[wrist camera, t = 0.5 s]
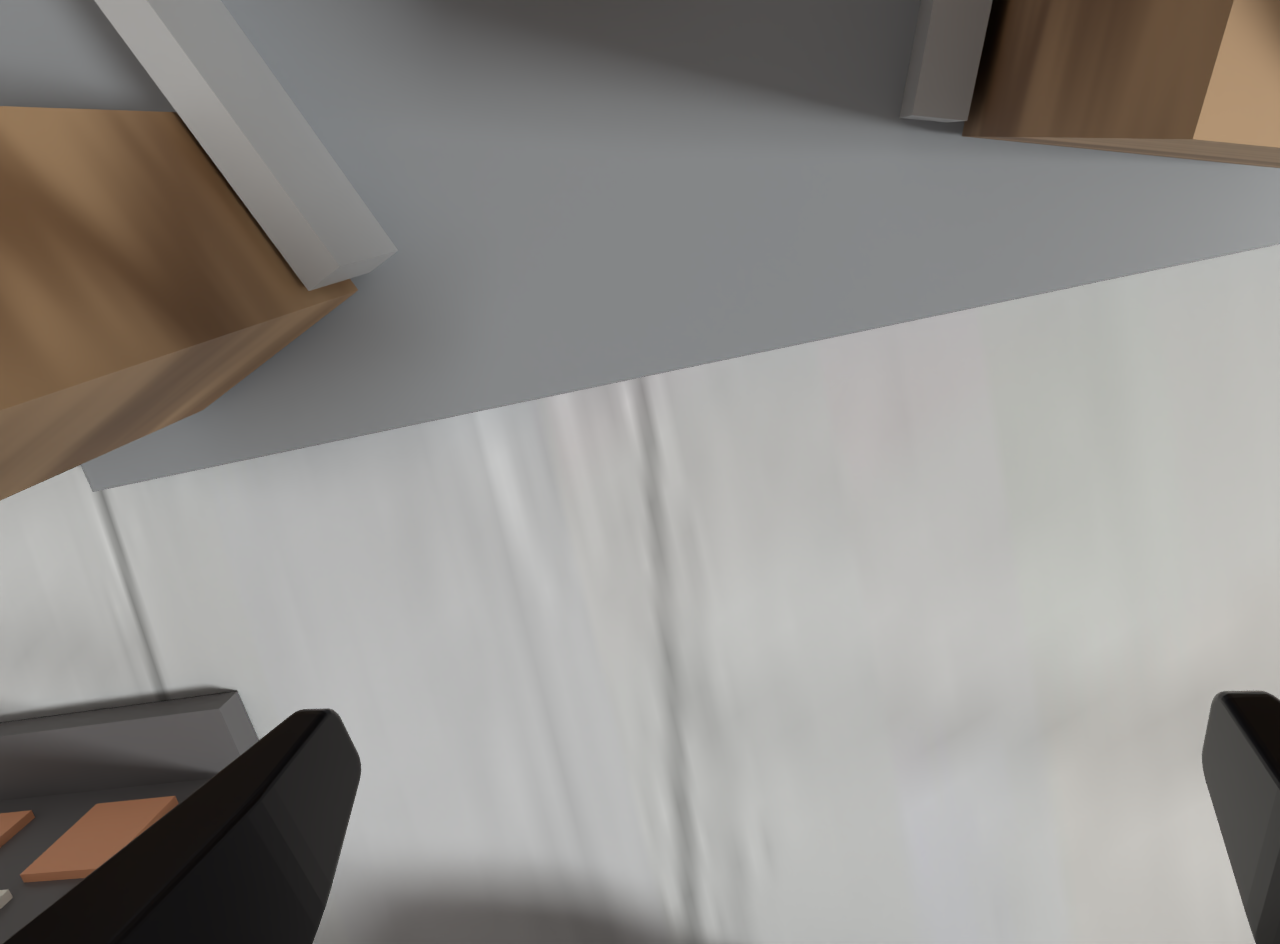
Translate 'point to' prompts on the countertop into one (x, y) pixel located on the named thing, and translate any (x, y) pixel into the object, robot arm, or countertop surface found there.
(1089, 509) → the countertop surface
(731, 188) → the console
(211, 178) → the plunger
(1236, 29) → the plunger
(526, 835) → the countertop surface
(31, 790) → the pattern card
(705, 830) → the countertop surface
